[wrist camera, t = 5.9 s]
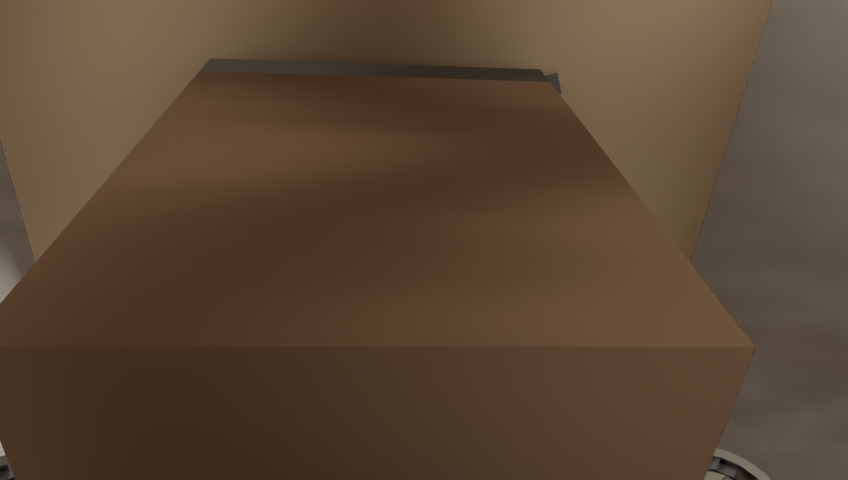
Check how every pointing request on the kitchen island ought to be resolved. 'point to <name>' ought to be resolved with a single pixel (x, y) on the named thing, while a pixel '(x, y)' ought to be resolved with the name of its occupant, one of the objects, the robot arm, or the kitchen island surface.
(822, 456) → the kitchen island surface
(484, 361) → the block
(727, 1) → the board
